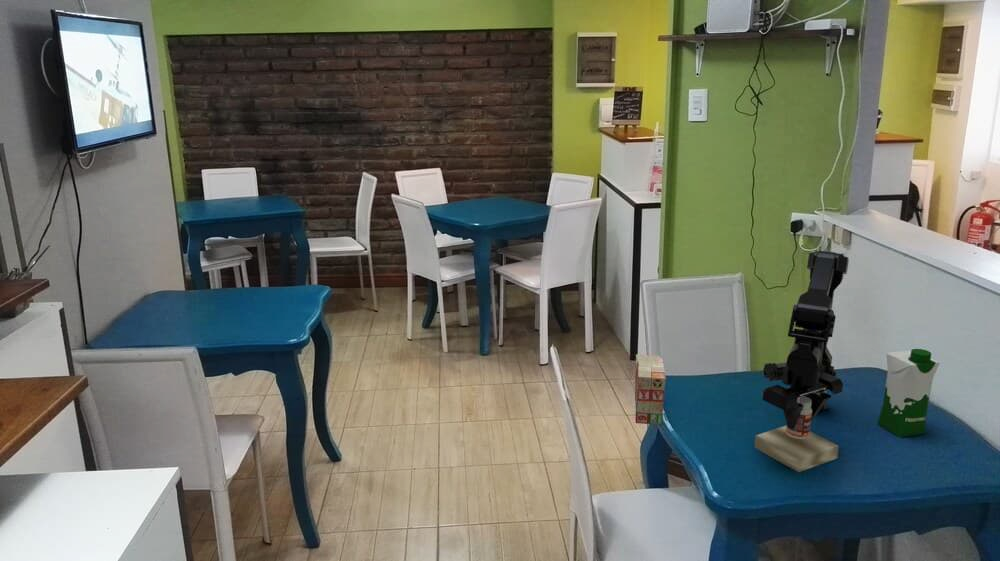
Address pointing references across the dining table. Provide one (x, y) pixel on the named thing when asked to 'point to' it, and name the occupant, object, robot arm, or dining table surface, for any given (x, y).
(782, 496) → the dining table surface
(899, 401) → the milk carton
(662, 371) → the stack of blocks
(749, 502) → the dining table surface
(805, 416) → the pill bottle
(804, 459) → the birch block
